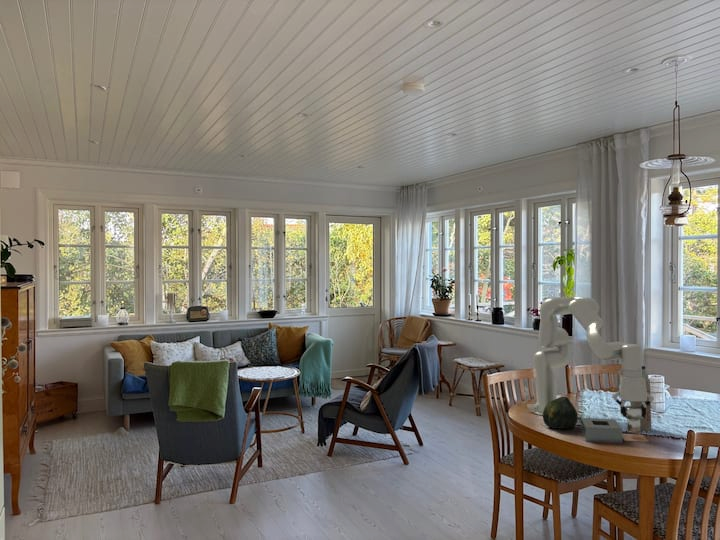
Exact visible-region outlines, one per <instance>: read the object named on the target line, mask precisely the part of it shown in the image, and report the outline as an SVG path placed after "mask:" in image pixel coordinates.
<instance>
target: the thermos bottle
mask: <svg viewBox="0 0 720 540" xmlns="http://www.w3.org/2000/svg"><path fill="white" fill-rule="evenodd" d="M642 377H644V378H645V383H646V390H647V393H648V394H649V395H651V380H650V378H649V374H648V373H647V371H646V366H643V365H642ZM648 399H649V397H647V400H648ZM645 402H646V401H645ZM651 403H652V402H651ZM651 403H650V404H649V405H648V406H647V407H646V415H645V417H643V418H642V419H640V431H644V432H643V433H646V432H647V431H649V432H651V431H652V411H651V408H652V405H651ZM629 404H630V405H629V406H638V407H641V406H642V404H641V402H629ZM647 433H648V432H647Z"/></svg>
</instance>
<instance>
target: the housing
mask: <svg viewBox="0 0 720 540" xmlns="http://www.w3.org/2000/svg"><path fill="white" fill-rule="evenodd" d="M580 432H582V433H581V435H582V437H583V439H584V440H585V442H592V443H609V444H610V443H611V444H623V438H622V434H623V428H622V427H621V425H620V424H619V423H618V421H617V420H616V419H613V418H589V417H580Z"/></svg>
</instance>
